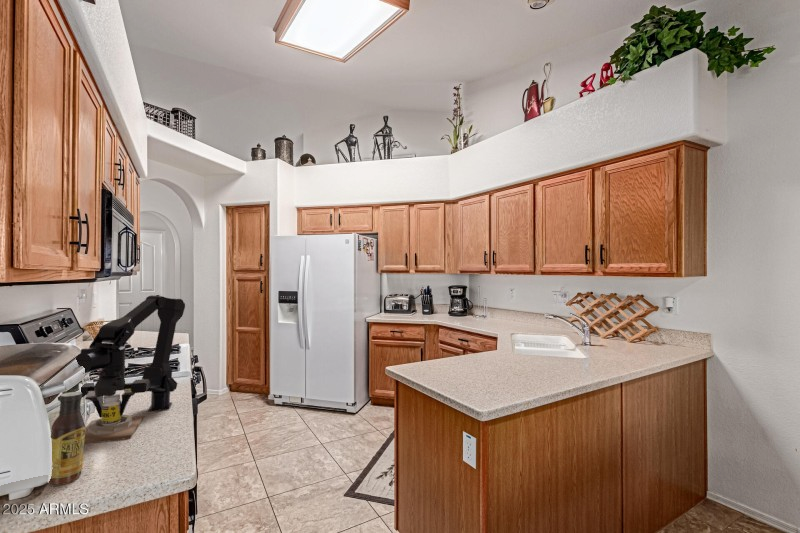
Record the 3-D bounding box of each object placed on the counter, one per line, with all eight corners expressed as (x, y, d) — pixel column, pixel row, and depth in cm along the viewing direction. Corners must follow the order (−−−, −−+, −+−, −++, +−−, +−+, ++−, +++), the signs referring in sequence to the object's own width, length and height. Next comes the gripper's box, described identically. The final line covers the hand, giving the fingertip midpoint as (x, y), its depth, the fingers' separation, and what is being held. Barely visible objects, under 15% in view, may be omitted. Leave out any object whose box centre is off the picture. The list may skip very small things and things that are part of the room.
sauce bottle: (61, 488, 85) (65, 399, 86) (39, 485, 86) (43, 397, 87) (90, 474, 92) (93, 391, 92) (69, 470, 93) (73, 389, 93)
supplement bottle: (98, 426, 113) (98, 398, 114) (105, 420, 118) (106, 393, 118) (116, 425, 115) (117, 397, 115) (123, 419, 119) (124, 392, 119)
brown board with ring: (91, 424, 121) (92, 414, 121) (143, 418, 126) (144, 409, 126) (70, 445, 106) (71, 434, 106) (130, 438, 112) (130, 427, 112)
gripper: (63, 374, 106) (61, 430, 105) (142, 369, 113) (140, 422, 113) (79, 364, 116) (77, 416, 116) (151, 361, 123) (149, 409, 123)
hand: (111, 416), depth 116 cm, fingers closed on supplement bottle, 5 cm apart
